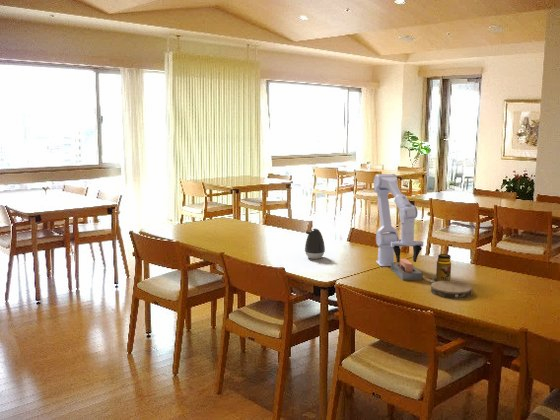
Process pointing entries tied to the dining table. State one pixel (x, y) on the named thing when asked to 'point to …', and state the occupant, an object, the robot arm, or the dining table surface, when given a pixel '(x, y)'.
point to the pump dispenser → (314, 244)
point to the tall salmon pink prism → (406, 265)
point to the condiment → (443, 268)
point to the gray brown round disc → (451, 289)
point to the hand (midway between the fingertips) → (406, 261)
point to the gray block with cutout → (406, 275)
